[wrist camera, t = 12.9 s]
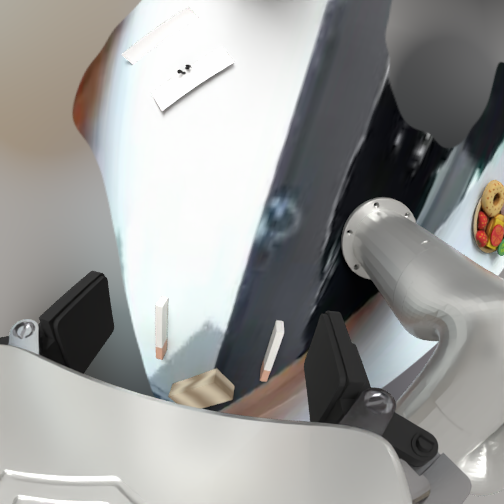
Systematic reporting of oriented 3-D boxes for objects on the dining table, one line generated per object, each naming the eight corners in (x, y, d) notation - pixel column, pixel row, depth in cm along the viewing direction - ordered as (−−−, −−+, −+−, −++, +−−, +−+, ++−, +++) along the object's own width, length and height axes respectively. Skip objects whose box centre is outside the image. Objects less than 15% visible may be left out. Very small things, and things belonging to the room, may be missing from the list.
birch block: (216, 367, 49) (213, 382, 45) (234, 384, 50) (232, 399, 47) (173, 382, 52) (168, 396, 48) (191, 398, 53) (187, 411, 50)
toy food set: (481, 171, 32) (493, 174, 29) (516, 195, 32) (526, 199, 29) (461, 242, 37) (471, 248, 34) (497, 256, 37) (507, 263, 34)
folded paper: (164, 112, 33) (159, 110, 31) (127, 57, 29) (121, 54, 27) (237, 63, 30) (235, 59, 28) (193, 11, 27) (189, 5, 25)
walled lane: (283, 321, 43) (284, 332, 41) (266, 370, 48) (266, 381, 45) (161, 295, 43) (155, 305, 40) (161, 347, 47) (156, 358, 45)
